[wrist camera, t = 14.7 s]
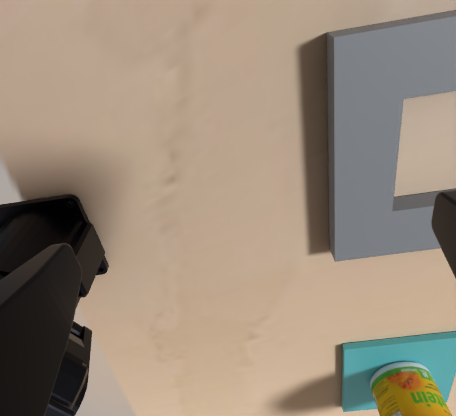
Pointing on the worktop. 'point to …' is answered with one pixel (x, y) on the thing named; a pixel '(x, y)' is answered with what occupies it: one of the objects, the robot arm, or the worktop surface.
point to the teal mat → (392, 353)
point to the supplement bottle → (407, 391)
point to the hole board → (381, 130)
